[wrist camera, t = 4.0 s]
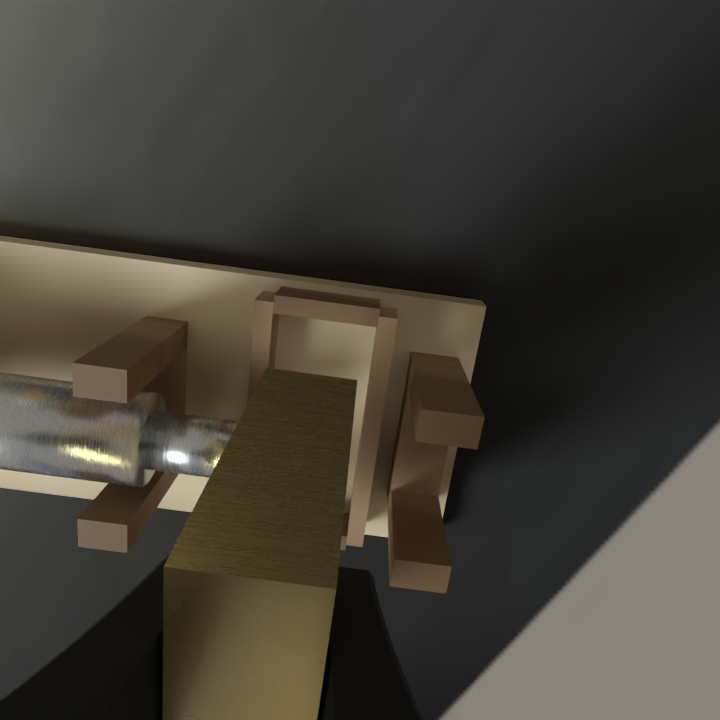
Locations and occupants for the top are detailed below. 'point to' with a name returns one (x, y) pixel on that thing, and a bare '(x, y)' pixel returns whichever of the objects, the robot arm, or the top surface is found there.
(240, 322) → the bearing bed
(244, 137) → the top surface
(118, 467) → the shaft
